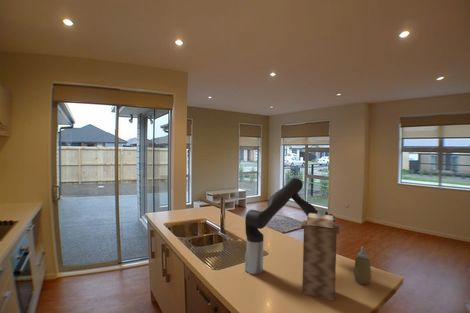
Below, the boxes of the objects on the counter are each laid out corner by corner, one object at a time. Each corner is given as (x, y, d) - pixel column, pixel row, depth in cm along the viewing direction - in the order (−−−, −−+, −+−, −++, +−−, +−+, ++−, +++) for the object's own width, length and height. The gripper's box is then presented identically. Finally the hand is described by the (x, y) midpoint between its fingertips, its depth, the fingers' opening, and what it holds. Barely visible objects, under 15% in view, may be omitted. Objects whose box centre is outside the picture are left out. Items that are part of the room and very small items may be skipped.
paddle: (307, 224, 110) (307, 216, 110) (310, 215, 127) (310, 208, 127) (333, 228, 106) (333, 220, 105) (333, 217, 123) (333, 210, 123)
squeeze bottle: (355, 276, 129) (356, 242, 128) (372, 281, 123) (373, 246, 123) (351, 282, 122) (352, 247, 122) (369, 288, 117) (370, 251, 117)
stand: (299, 293, 111) (301, 225, 111) (302, 283, 120) (303, 220, 119) (337, 302, 105) (339, 230, 105) (337, 291, 114) (338, 224, 113)
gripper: (309, 213, 138) (307, 203, 124) (336, 216, 133) (336, 206, 119) (308, 226, 135) (306, 218, 121) (335, 230, 129) (336, 221, 116)
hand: (321, 212), depth 120 cm, fingers closed on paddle, 3 cm apart
